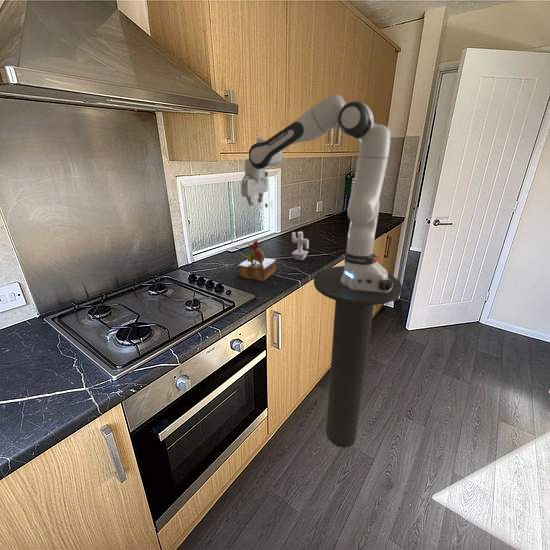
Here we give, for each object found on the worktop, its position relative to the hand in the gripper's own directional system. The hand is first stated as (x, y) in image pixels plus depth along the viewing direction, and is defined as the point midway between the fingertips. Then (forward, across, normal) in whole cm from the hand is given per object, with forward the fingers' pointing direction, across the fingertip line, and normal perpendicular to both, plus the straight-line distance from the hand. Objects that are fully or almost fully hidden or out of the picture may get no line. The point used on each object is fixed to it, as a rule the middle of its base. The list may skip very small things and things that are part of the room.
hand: (255, 203), depth 143 cm
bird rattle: (+25, -13, -7) cm, 29 cm away
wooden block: (+31, -13, -7) cm, 34 cm away
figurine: (+31, +15, -18) cm, 39 cm away
